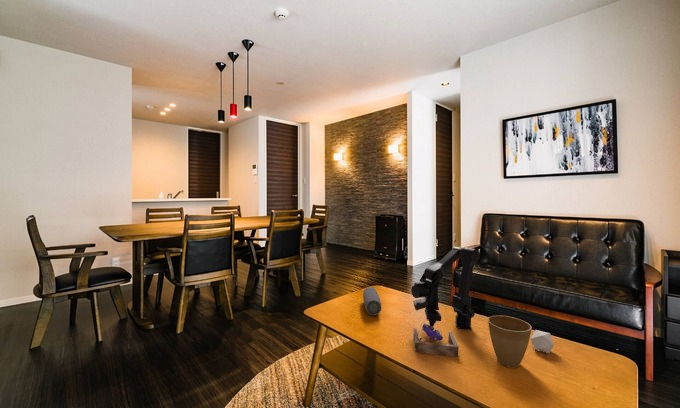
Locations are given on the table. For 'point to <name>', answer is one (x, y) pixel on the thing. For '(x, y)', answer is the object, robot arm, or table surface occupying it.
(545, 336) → the die
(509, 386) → the table surface
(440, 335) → the game controller
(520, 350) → the plant pot
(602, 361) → the table surface
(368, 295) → the bluetooth speaker
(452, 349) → the docking bay
